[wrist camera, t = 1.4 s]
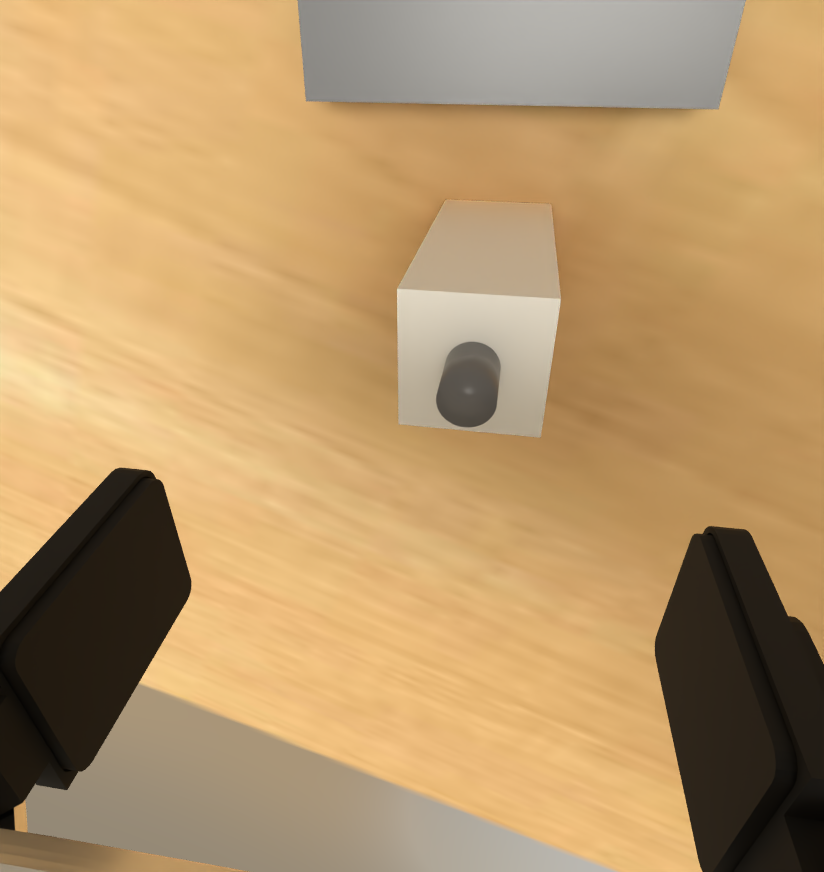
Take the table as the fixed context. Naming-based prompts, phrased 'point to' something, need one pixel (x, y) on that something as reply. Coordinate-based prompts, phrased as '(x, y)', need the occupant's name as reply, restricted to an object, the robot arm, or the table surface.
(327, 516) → the table surface
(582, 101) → the plate
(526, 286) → the charger plug
